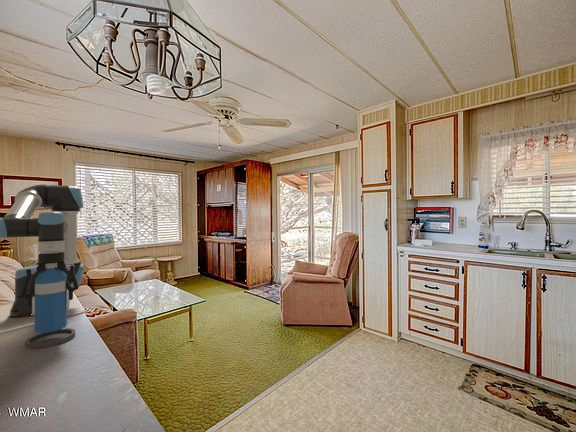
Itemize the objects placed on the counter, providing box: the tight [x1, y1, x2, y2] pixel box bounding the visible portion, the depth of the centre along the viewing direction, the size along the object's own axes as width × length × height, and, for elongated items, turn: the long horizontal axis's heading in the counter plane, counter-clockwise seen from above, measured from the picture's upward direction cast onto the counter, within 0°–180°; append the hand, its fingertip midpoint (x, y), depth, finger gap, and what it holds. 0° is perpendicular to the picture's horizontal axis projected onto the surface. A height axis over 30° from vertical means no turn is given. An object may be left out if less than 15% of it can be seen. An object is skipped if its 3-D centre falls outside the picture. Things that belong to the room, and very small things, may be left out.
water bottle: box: [34, 263, 68, 334], centre depth 101 cm, size 9×9×25 cm
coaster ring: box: [24, 327, 76, 350], centre depth 101 cm, size 14×14×2 cm
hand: (51, 311), depth 101 cm, fingers closed on water bottle, 9 cm apart
